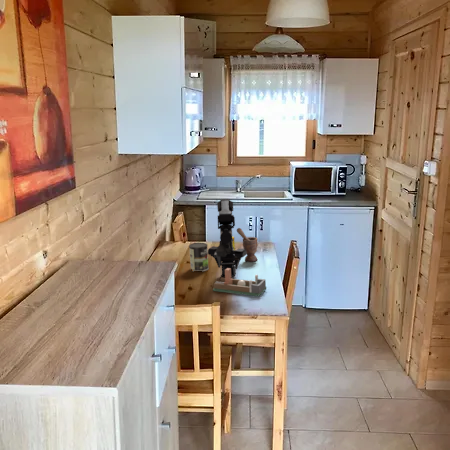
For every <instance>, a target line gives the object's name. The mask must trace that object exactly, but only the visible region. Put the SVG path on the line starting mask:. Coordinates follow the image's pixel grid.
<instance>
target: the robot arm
mask: <svg viewBox="0 0 450 450" xmlns="http://www.w3.org/2000/svg"><path fill="white" fill-rule="evenodd" d="M217 212H218V215H217V229H218V230H219V231H220V233H219V239H220V240H219V245H218V246H215V245H214V246H212V245H211V247H209V248H207V250H208V256H209V255H210V257H212V258H214V260H215V263H216V265H217V267H218V268H219V269H220V268H221V275H220V277H222V278H225V269H227V268H231V278H233V277H234V276H235V275H236V274H237V272H236V271H237V270H238V267H239V265H240V263H241V259H242V258H244V257H246V256H247V251H246V249H244V248H237V249H236V250H233V249H234V247H233V243H232V241H233V239H232V237H233V229H234V228H235V226H236V223H235V221H236V219H235V218H236V217H235V216H234V214H233V212H234V202H233V201H232V200H231V199H230V198H221V199H220V200H219V201H218V202H217Z"/></svg>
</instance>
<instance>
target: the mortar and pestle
mask: <svg viewBox="0 0 450 450" xmlns="http://www.w3.org/2000/svg"><path fill="white" fill-rule="evenodd" d="M236 232H237V234H238V235H239V236H240V237H242V249H246V251H247V254H246V255H245V256H244V257H245V258H244V261H245V262H248V263H251V262H257V261H258V257H257V256H256V255H255V254H256V253H257V251H258V238H257V237H256V236H246V235H245V232H244V231H243V230H242V228H240V227H238V228H236Z"/></svg>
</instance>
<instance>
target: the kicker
mask: <svg viewBox="0 0 450 450" xmlns="http://www.w3.org/2000/svg"><path fill="white" fill-rule="evenodd" d="M224 278H225V282H221V281H218V280H217V281H215V282H214V283H220V284H229V285H233V279H234V278H232V277H231V268H227V269H225V277H224Z"/></svg>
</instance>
